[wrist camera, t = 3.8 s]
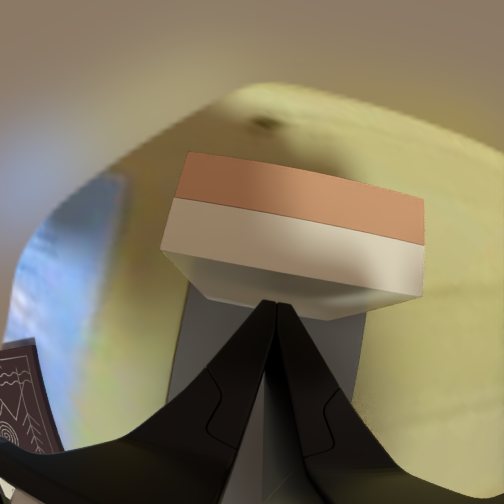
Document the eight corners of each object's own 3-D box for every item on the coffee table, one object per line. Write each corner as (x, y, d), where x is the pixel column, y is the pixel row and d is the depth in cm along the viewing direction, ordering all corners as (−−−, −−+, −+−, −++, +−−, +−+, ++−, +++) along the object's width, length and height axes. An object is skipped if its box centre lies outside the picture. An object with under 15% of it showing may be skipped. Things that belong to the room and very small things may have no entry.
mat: (317, 513, 13) (319, 517, 12) (156, 489, 13) (153, 492, 12) (372, 193, 18) (375, 189, 17) (221, 163, 18) (221, 159, 17)
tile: (327, 320, 15) (422, 296, 6) (207, 299, 15) (159, 249, 7) (334, 272, 16) (423, 199, 7) (217, 250, 16) (188, 151, 7)
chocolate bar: (31, 345, 14) (131, 585, 10) (39, 345, 15) (135, 578, 11) (-46, 358, 14) (37, 565, 9) (-38, 358, 14) (42, 561, 10)
